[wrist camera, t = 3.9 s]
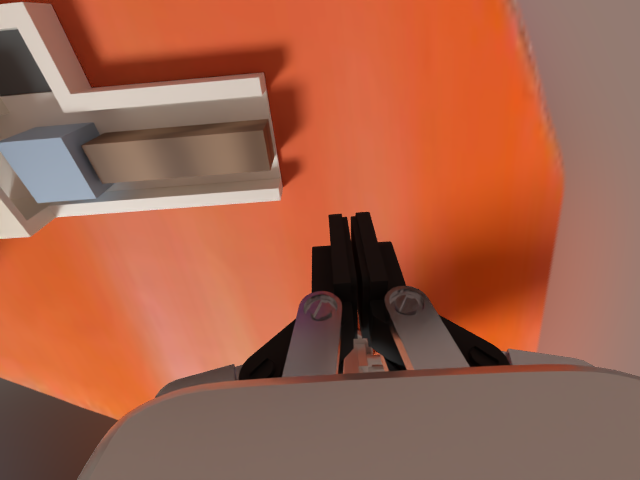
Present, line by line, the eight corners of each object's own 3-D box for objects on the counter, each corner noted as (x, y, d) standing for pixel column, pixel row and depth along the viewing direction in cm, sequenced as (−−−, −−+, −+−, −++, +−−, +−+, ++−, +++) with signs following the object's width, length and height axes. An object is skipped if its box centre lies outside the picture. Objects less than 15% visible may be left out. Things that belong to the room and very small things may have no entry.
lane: (249, -17, 20) (230, -27, 16) (282, 187, 29) (277, 218, 25) (-211, 29, 21) (-352, 32, 17) (-42, 212, 30) (-105, 246, 26)
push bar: (268, 118, 25) (263, 130, 22) (274, 156, 27) (270, 170, 24) (104, 132, 25) (81, 145, 23) (122, 168, 27) (102, 183, 25)
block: (93, 122, 25) (60, 137, 22) (121, 177, 28) (96, 198, 25) (35, 127, 25) (-6, 142, 22) (69, 182, 28) (37, 203, 25)
